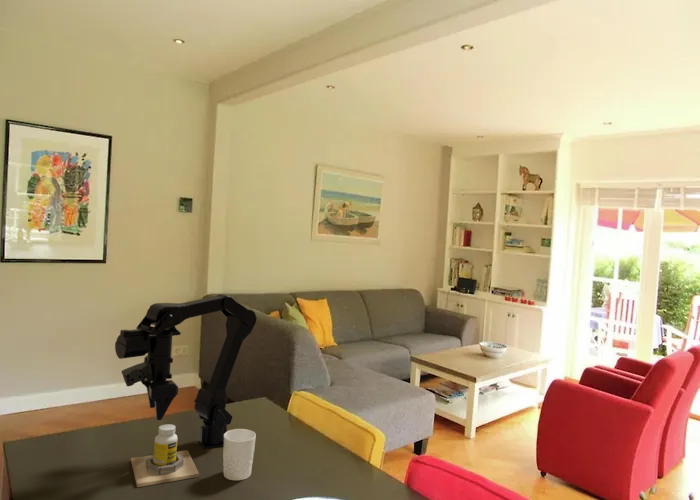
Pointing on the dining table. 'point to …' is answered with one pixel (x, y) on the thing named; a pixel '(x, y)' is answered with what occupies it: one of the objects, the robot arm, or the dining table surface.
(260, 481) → the dining table surface
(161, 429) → the supplement bottle
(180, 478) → the board
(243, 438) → the white cup
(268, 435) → the dining table surface
